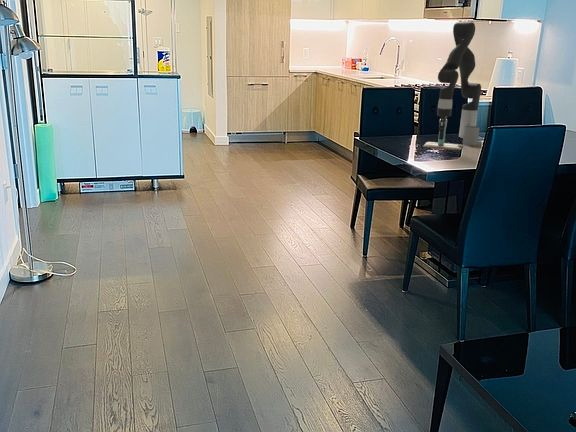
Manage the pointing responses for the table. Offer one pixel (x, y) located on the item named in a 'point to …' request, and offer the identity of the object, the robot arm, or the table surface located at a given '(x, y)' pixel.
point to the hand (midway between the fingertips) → (441, 138)
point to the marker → (441, 141)
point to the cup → (471, 135)
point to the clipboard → (445, 146)
